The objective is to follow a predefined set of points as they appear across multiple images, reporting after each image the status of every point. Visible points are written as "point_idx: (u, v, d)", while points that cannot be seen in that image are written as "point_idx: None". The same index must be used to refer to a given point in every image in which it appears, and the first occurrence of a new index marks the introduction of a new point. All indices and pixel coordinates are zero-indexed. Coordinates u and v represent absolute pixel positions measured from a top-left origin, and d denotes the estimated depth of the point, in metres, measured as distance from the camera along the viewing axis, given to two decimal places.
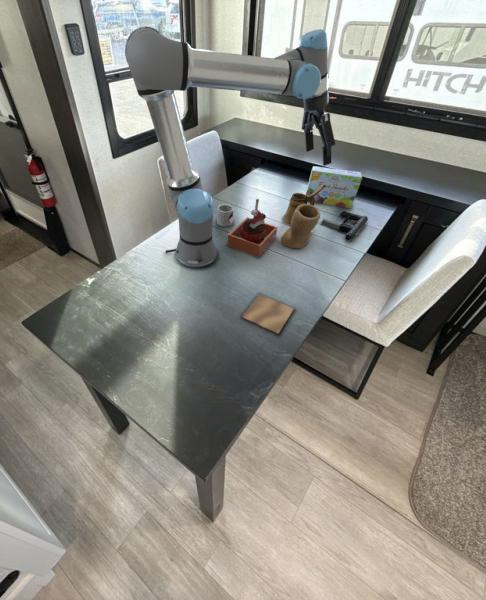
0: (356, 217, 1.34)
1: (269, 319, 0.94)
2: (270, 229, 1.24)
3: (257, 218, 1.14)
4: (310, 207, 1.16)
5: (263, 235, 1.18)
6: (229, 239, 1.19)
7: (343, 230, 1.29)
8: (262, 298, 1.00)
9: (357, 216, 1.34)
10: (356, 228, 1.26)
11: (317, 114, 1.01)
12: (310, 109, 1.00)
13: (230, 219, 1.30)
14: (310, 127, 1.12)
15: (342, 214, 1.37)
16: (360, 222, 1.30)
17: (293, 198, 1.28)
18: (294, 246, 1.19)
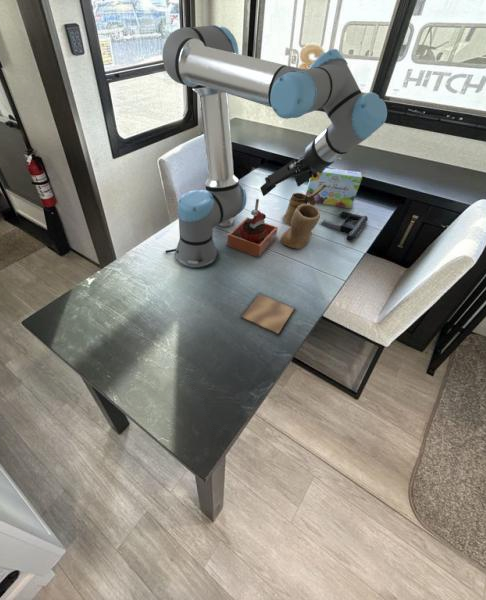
0: (356, 217, 1.34)
1: (269, 319, 0.94)
2: (270, 229, 1.24)
3: (257, 218, 1.14)
4: (310, 207, 1.16)
5: (263, 235, 1.18)
6: (229, 239, 1.19)
7: (344, 230, 1.29)
8: (262, 298, 1.00)
9: (357, 216, 1.34)
10: (357, 228, 1.26)
11: None
12: (306, 147, 0.81)
13: (230, 219, 1.30)
14: (311, 170, 0.92)
15: (342, 214, 1.37)
16: (361, 222, 1.29)
17: (293, 198, 1.28)
18: (294, 246, 1.19)
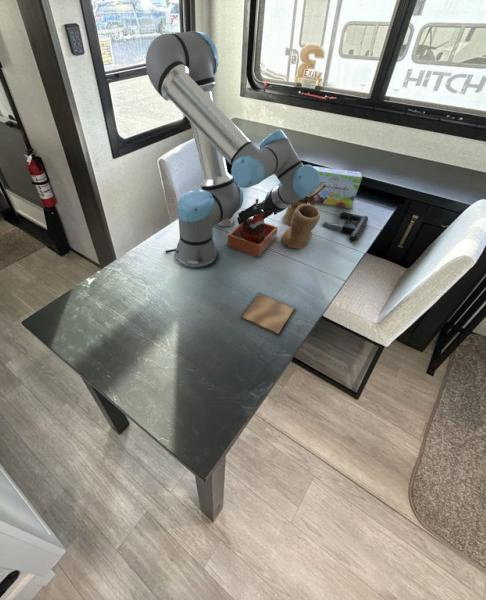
0: (357, 218, 1.34)
1: (269, 319, 0.94)
2: (270, 229, 1.24)
3: (257, 218, 1.14)
4: (310, 207, 1.16)
5: (263, 235, 1.18)
6: (229, 239, 1.19)
7: (346, 231, 1.28)
8: (262, 298, 1.00)
9: (357, 216, 1.34)
10: (359, 229, 1.26)
11: (263, 201, 1.03)
12: (267, 193, 1.01)
13: (230, 219, 1.30)
14: None
15: (342, 215, 1.36)
16: (362, 222, 1.29)
17: None
18: (294, 246, 1.19)
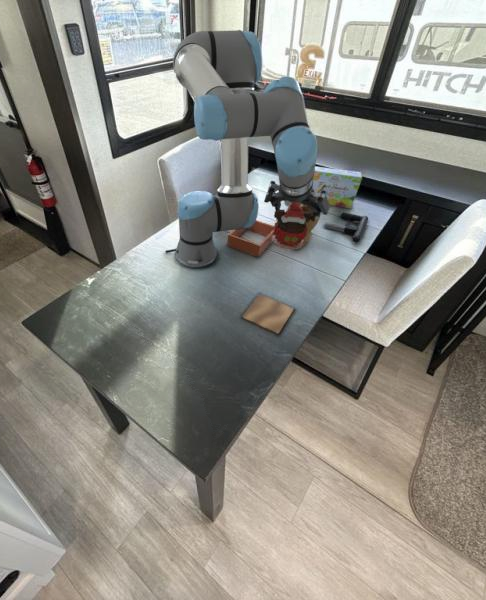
0: (357, 218, 1.34)
1: (269, 319, 0.94)
2: (270, 229, 1.24)
3: (291, 211, 0.87)
4: None
5: (293, 237, 0.90)
6: (229, 239, 1.19)
7: (348, 232, 1.28)
8: (262, 298, 1.00)
9: (358, 217, 1.34)
10: (361, 229, 1.26)
11: None
12: None
13: None
14: None
15: (343, 216, 1.36)
16: (363, 223, 1.29)
17: None
18: None
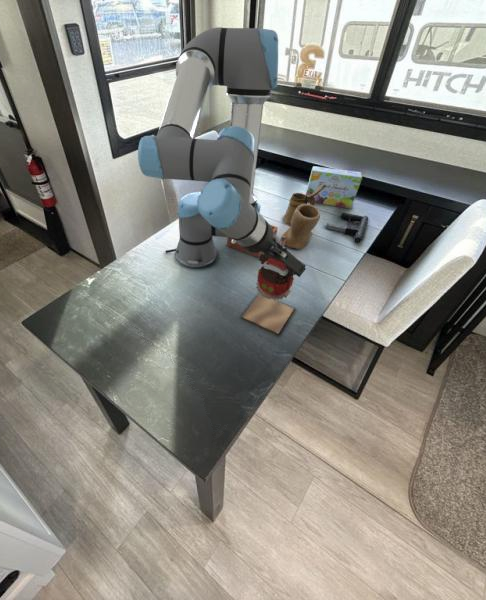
0: (357, 218, 1.33)
1: (269, 319, 0.94)
2: None
3: (272, 260, 0.81)
4: (310, 207, 1.16)
5: (270, 287, 0.83)
6: (229, 239, 1.19)
7: (349, 233, 1.28)
8: (262, 298, 1.00)
9: (358, 217, 1.34)
10: (362, 230, 1.26)
11: None
12: None
13: None
14: None
15: (343, 216, 1.36)
16: (364, 223, 1.29)
17: (293, 198, 1.28)
18: (294, 246, 1.19)
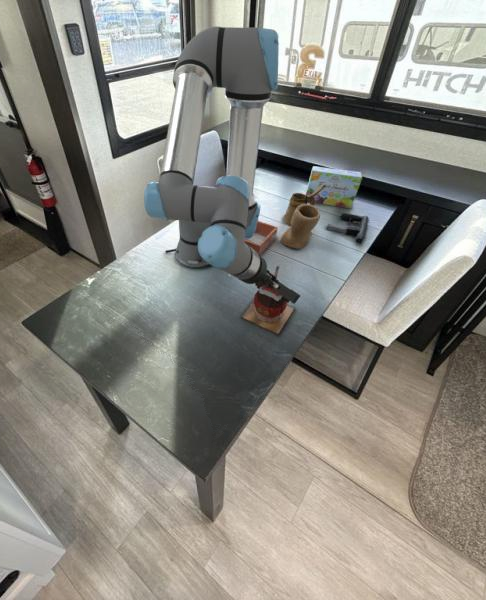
0: (358, 218, 1.33)
1: None
2: (270, 229, 1.24)
3: None
4: (310, 207, 1.16)
5: (265, 310, 0.90)
6: None
7: (350, 233, 1.27)
8: None
9: (358, 217, 1.34)
10: (364, 230, 1.25)
11: None
12: None
13: None
14: None
15: (343, 216, 1.36)
16: (364, 223, 1.29)
17: (293, 198, 1.28)
18: (294, 246, 1.19)
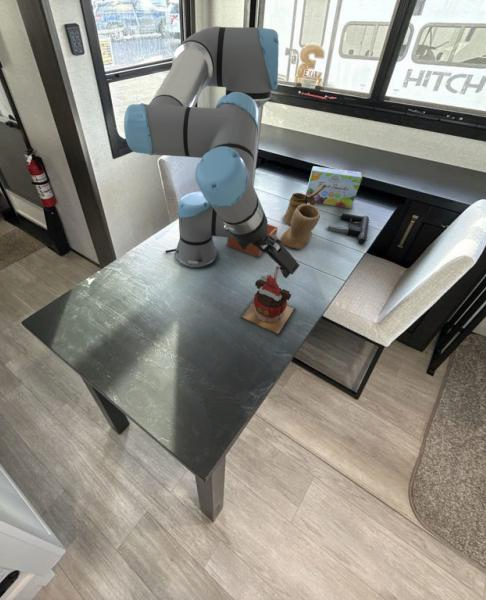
0: (358, 218, 1.33)
1: None
2: (270, 229, 1.24)
3: (267, 286, 0.87)
4: (310, 207, 1.16)
5: (265, 310, 0.90)
6: (229, 239, 1.19)
7: (352, 234, 1.27)
8: None
9: (359, 217, 1.34)
10: (365, 230, 1.25)
11: None
12: None
13: None
14: None
15: (343, 217, 1.35)
16: (365, 223, 1.29)
17: (293, 198, 1.28)
18: (294, 246, 1.19)
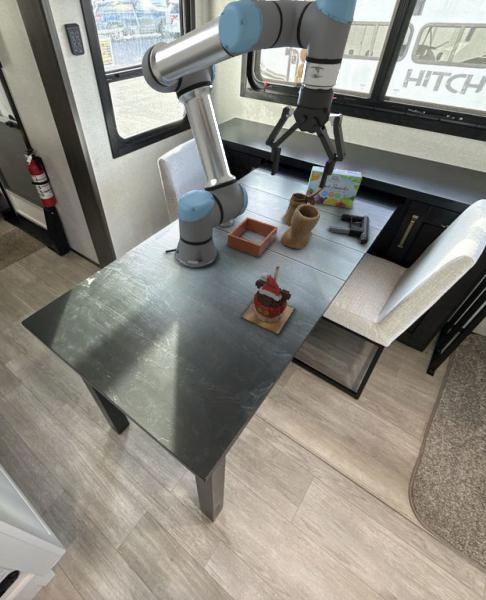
0: (358, 218, 1.33)
1: None
2: (270, 229, 1.24)
3: (267, 286, 0.87)
4: (310, 207, 1.16)
5: (265, 310, 0.90)
6: (229, 239, 1.19)
7: (353, 234, 1.27)
8: None
9: (359, 217, 1.33)
10: (367, 230, 1.25)
11: None
12: None
13: None
14: None
15: (343, 217, 1.35)
16: (366, 223, 1.29)
17: (293, 198, 1.28)
18: (294, 246, 1.19)
